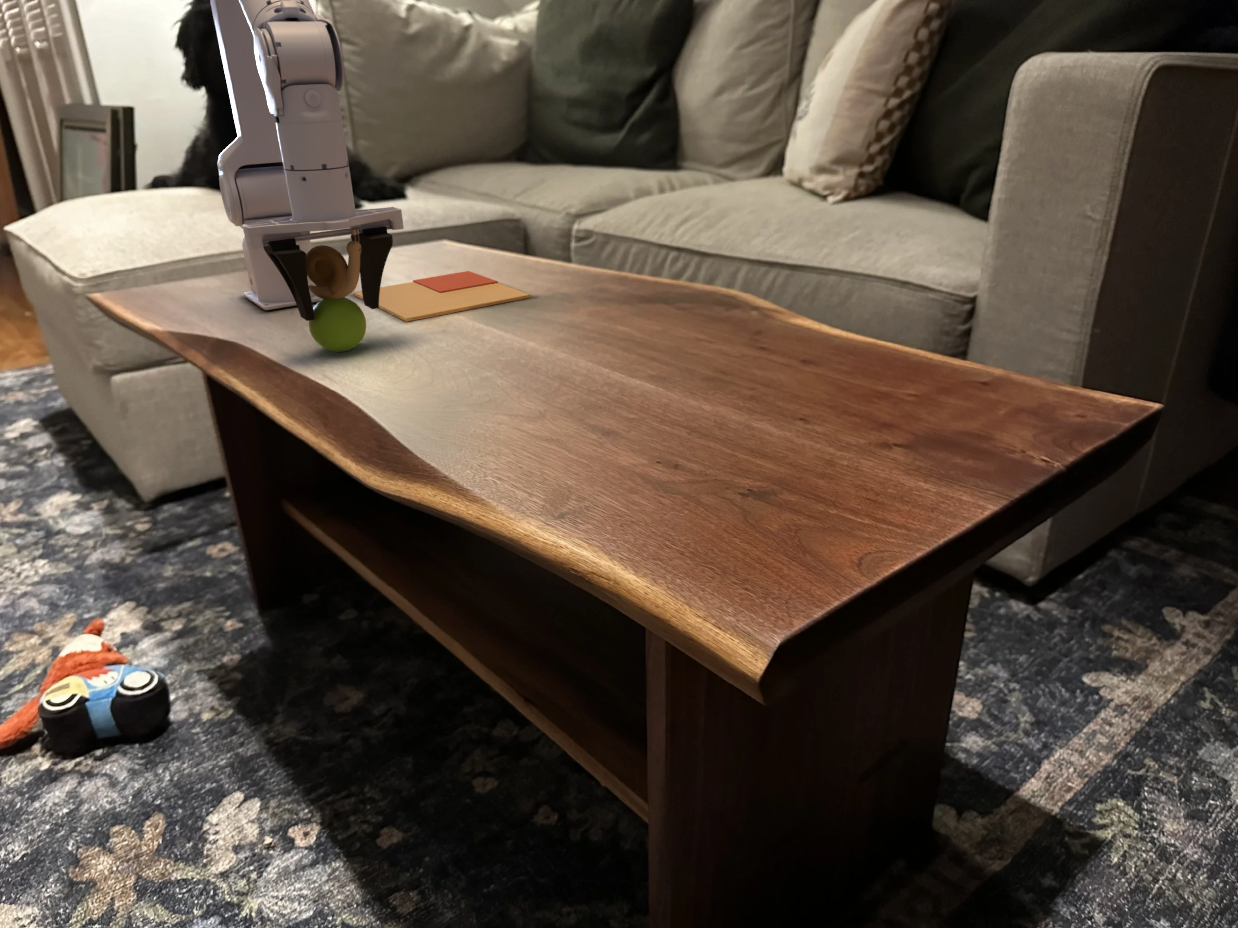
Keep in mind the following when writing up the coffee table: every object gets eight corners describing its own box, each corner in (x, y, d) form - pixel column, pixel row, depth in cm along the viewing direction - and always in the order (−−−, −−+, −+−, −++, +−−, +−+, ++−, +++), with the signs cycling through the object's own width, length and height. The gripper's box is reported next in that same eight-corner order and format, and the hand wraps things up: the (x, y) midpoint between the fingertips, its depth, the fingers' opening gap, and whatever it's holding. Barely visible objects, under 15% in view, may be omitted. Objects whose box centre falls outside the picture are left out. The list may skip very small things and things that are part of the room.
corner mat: (353, 295, 108) (352, 290, 108) (468, 275, 117) (468, 271, 116) (406, 322, 97) (405, 316, 96) (530, 297, 105) (530, 292, 105)
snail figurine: (363, 360, 84) (344, 234, 79) (303, 357, 86) (280, 233, 80) (388, 343, 89) (371, 224, 84) (330, 341, 90) (310, 223, 85)
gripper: (247, 178, 73) (277, 335, 79) (408, 163, 81) (425, 307, 87) (225, 172, 78) (255, 319, 84) (379, 158, 86) (397, 294, 92)
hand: (340, 312), depth 86 cm, fingers open, 6 cm apart
